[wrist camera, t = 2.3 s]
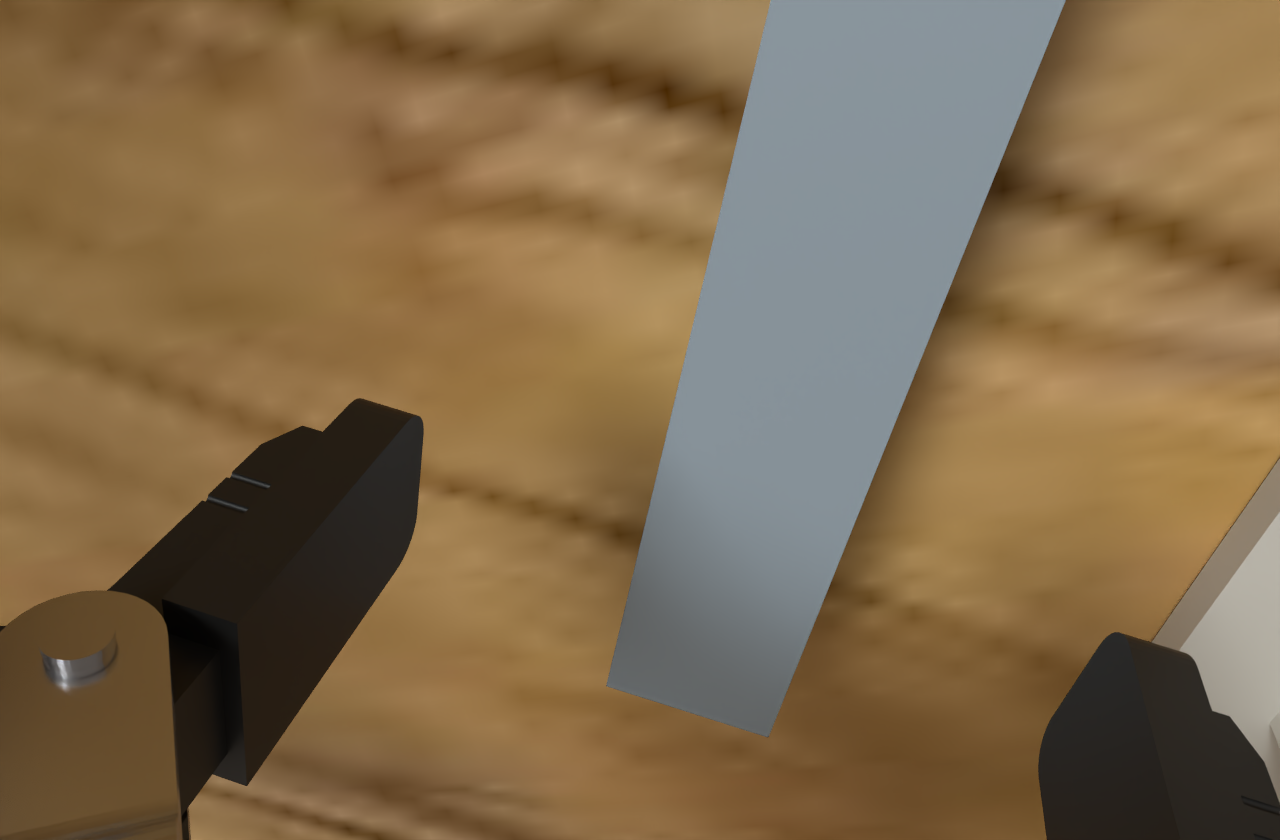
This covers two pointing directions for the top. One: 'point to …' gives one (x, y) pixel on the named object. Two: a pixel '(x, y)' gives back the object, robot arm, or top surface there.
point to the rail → (814, 326)
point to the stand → (1239, 624)
